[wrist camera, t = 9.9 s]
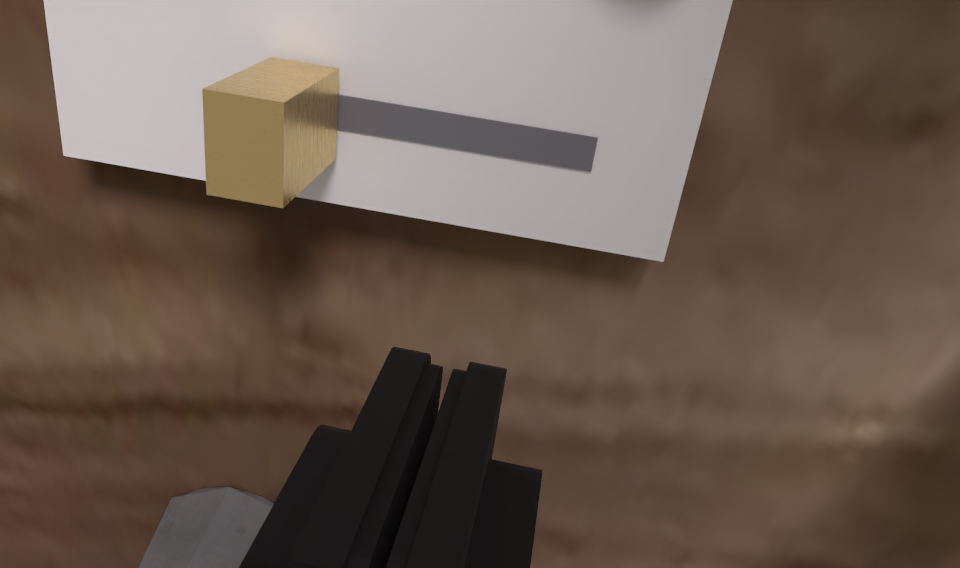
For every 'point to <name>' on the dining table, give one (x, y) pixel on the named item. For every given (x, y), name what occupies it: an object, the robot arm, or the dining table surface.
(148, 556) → the coffeepot
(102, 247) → the dining table surface
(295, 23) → the console
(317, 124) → the brass slider
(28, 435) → the dining table surface
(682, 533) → the dining table surface
